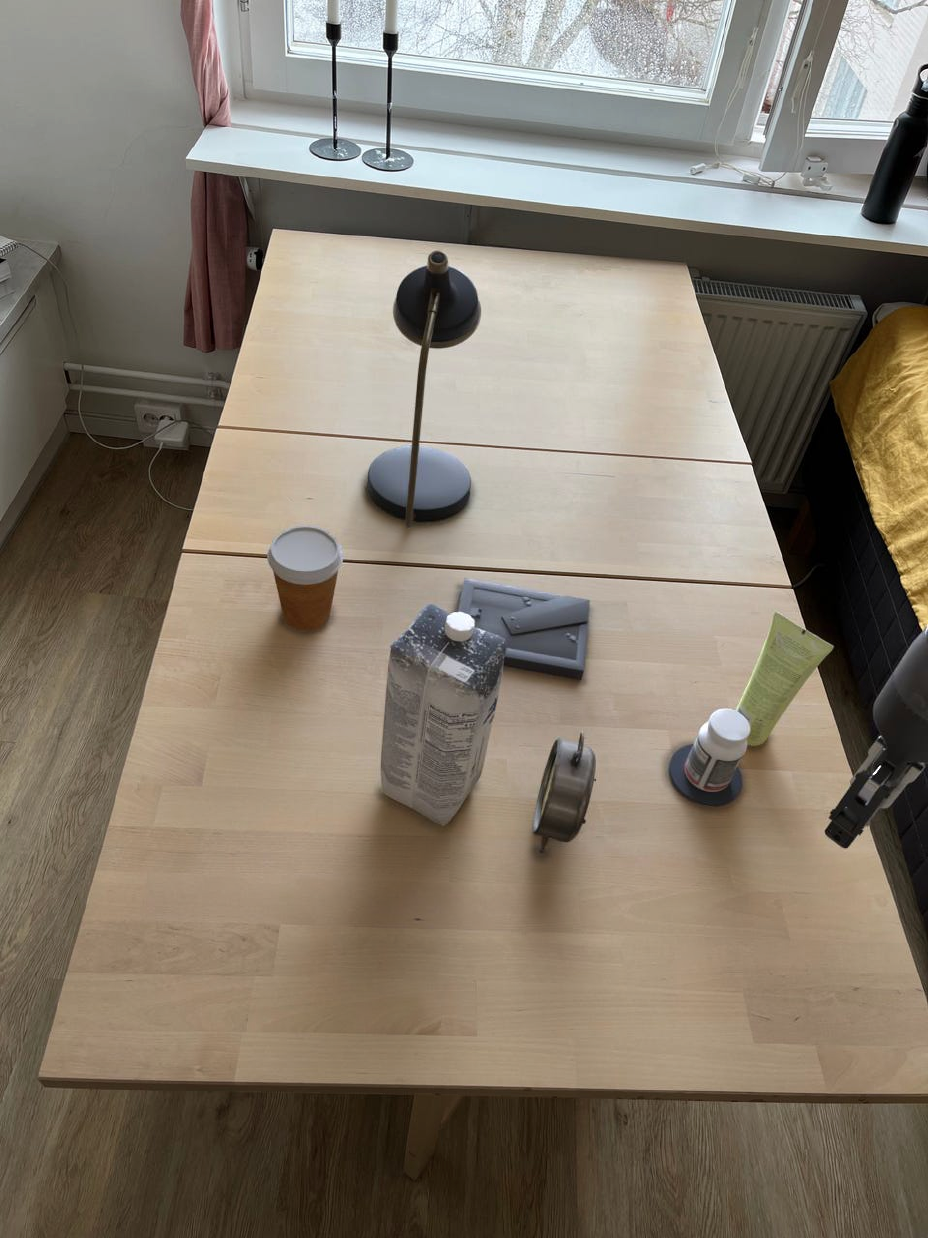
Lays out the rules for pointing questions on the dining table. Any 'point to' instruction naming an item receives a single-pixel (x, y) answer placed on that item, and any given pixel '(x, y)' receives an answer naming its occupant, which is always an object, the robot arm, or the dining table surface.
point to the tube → (779, 675)
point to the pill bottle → (718, 750)
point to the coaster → (695, 793)
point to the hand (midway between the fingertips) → (860, 810)
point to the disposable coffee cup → (305, 574)
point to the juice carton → (439, 711)
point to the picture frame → (531, 626)
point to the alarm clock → (564, 791)
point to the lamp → (418, 475)
